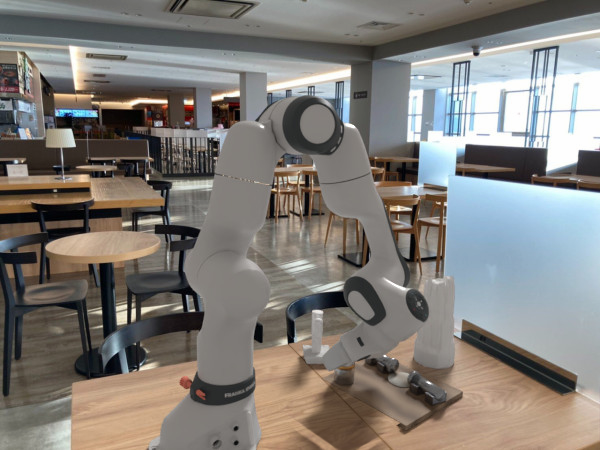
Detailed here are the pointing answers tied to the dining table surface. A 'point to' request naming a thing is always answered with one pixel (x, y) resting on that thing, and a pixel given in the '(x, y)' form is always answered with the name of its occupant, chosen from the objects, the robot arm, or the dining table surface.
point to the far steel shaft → (384, 364)
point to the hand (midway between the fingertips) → (342, 361)
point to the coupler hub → (345, 374)
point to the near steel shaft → (426, 389)
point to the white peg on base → (315, 340)
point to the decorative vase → (437, 325)
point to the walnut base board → (394, 393)
